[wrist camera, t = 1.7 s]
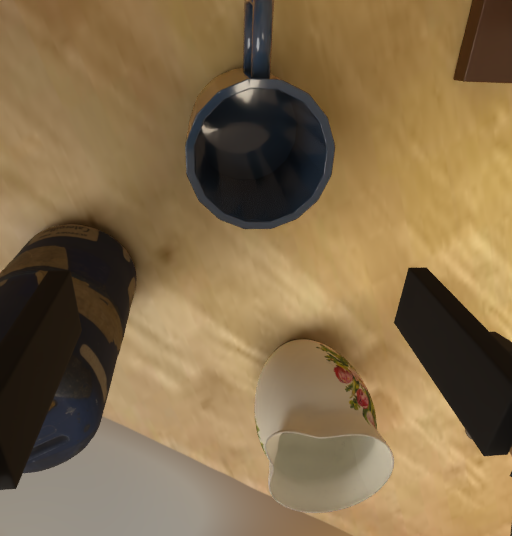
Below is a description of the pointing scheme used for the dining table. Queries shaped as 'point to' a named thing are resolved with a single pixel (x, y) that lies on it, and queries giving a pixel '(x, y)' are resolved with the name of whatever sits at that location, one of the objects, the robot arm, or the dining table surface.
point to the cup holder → (487, 43)
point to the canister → (92, 323)
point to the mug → (257, 138)
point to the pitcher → (318, 430)
